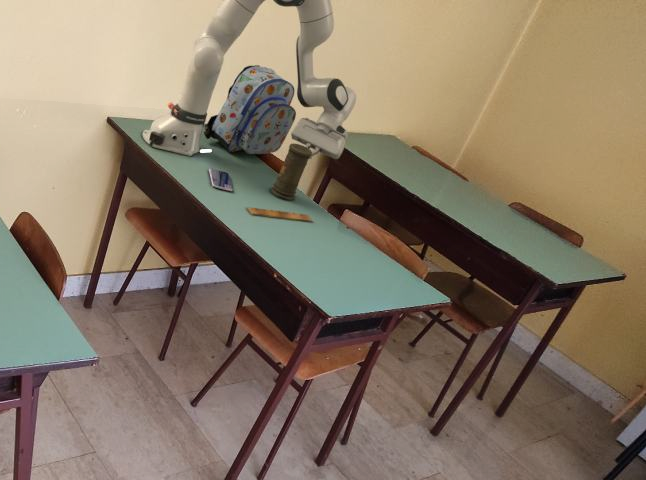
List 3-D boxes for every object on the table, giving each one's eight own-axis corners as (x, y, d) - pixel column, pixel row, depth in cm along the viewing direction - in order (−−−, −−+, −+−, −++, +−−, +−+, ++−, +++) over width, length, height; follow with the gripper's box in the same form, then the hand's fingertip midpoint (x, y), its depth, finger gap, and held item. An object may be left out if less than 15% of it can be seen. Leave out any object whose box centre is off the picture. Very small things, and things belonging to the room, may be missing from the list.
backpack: (243, 167, 234) (272, 85, 216) (195, 138, 245) (220, 57, 226) (288, 159, 257) (318, 84, 239) (243, 133, 268) (269, 59, 249)
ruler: (251, 214, 202) (252, 212, 202) (247, 208, 205) (248, 206, 204) (311, 222, 212) (312, 220, 211) (306, 216, 215) (307, 214, 214)
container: (293, 193, 228) (312, 148, 217) (293, 203, 221) (313, 156, 210) (270, 186, 227) (289, 140, 217) (270, 195, 220) (289, 148, 209)
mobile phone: (228, 172, 223) (233, 190, 211) (228, 174, 223) (232, 192, 212) (209, 167, 221) (212, 184, 209) (208, 169, 222) (212, 187, 210)
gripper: (302, 110, 227) (282, 140, 225) (351, 133, 221) (331, 163, 219) (302, 121, 233) (282, 149, 231) (349, 143, 227) (330, 172, 225)
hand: (306, 156), depth 225 cm, fingers closed
